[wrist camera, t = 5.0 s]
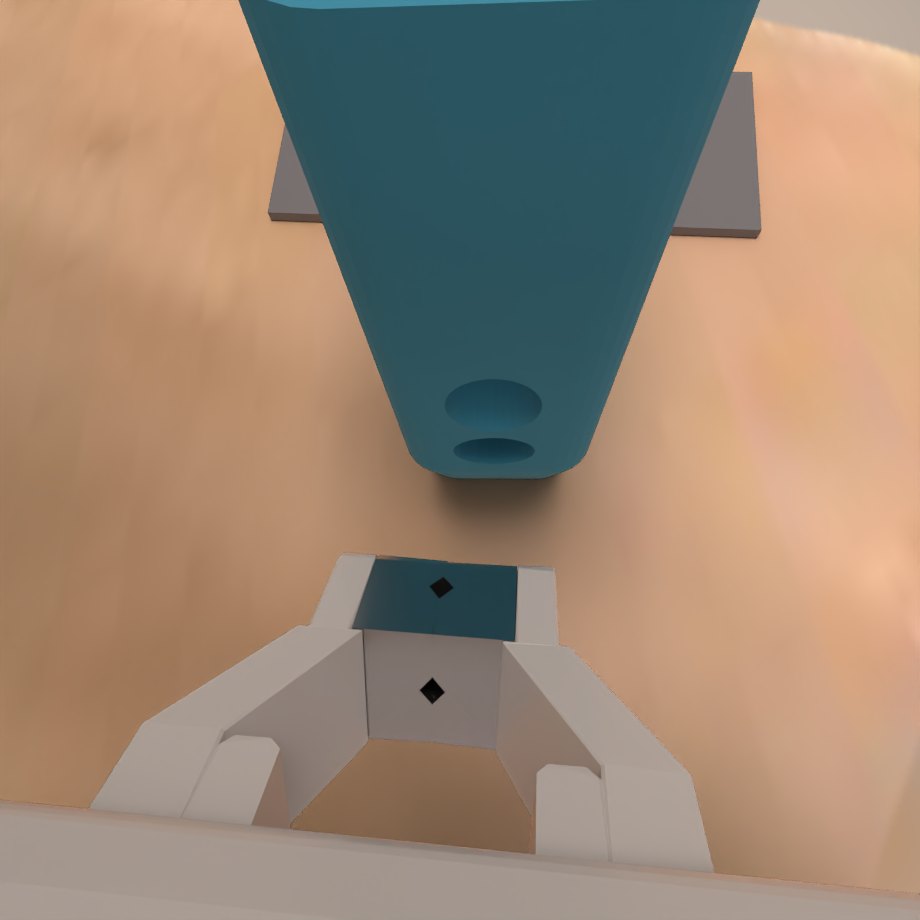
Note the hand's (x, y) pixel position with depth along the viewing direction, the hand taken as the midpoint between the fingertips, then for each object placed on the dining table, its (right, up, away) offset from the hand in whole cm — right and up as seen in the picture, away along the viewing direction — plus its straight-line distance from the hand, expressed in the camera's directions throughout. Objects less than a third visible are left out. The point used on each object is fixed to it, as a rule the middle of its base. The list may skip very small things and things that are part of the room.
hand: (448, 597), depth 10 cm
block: (+2, +5, +17) cm, 18 cm away
